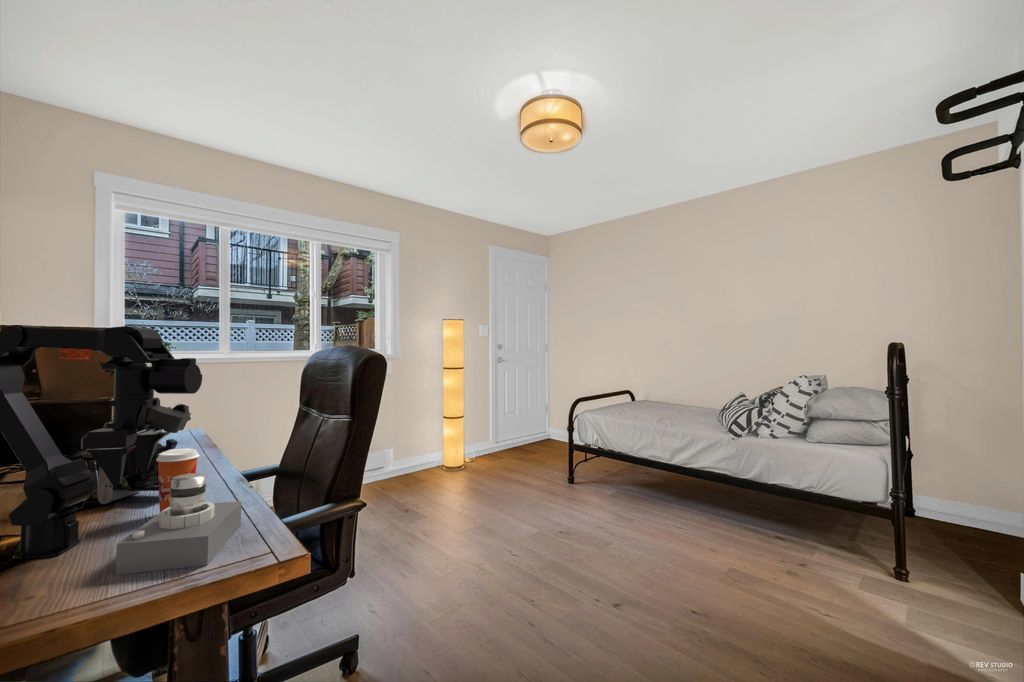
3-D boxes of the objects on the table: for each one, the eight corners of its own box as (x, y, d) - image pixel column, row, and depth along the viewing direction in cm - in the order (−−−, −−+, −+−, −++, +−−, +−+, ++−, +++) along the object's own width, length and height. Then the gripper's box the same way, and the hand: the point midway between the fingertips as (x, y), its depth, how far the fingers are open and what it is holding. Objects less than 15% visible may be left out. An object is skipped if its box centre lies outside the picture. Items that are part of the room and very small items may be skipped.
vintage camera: (158, 508, 102) (165, 423, 103) (93, 504, 102) (102, 419, 103) (189, 495, 112) (196, 417, 113) (130, 492, 112) (137, 414, 113)
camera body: (115, 574, 71) (117, 531, 71) (168, 531, 88) (169, 496, 89) (207, 565, 75) (208, 524, 75) (240, 525, 92) (241, 491, 92)
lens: (163, 526, 78) (165, 482, 79) (176, 515, 84) (178, 473, 84) (197, 524, 80) (199, 480, 80) (209, 513, 85) (210, 472, 85)
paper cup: (146, 522, 93) (148, 456, 93) (164, 509, 100) (166, 448, 100) (188, 519, 95) (191, 454, 95) (203, 507, 102) (205, 447, 102)
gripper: (160, 398, 75) (157, 489, 74) (203, 389, 93) (201, 462, 92) (80, 399, 72) (76, 494, 71) (141, 389, 90) (138, 465, 89)
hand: (131, 477), depth 81 cm, fingers open, 9 cm apart
